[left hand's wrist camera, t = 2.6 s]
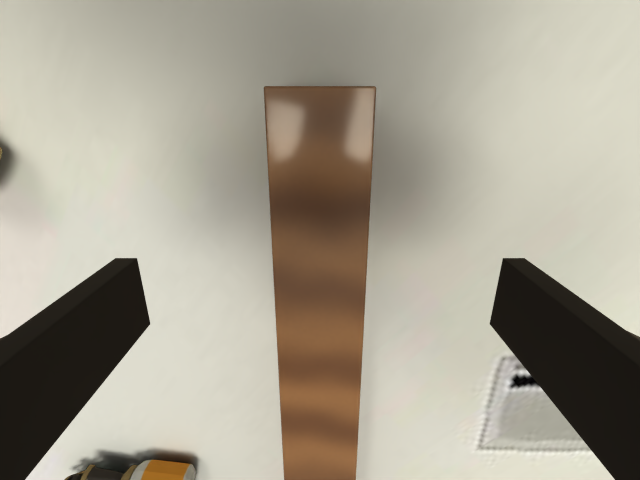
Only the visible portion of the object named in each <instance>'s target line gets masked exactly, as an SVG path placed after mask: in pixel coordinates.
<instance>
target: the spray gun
mask: <svg viewBox="0 0 640 480" xmlns="http://www.w3.org/2000/svg"><path fill="white" fill-rule="evenodd" d="M81 476H82V477H81ZM195 476H196V471H195V469H194V467H193V465H192V464H187V463H179V462H170V461H162V460H147V461H144V462H142V463H141V464H140V465H139V466H138V465H132V466H131V467H130V468H129V469H128V470H127V472H125V473H124V474H123V473H121V472H117V471H112V470H107V469H102V468H97V467H96V466H95V465H89V466H88V467H87V469H86V470H85V471H82V472H79V473H76V474H73V475H71V476H69V477H67V478H66V479H65V480H195Z"/></svg>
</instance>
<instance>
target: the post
mask: <svg viewBox="0 0 640 480" xmlns="http://www.w3.org/2000/svg"><path fill="white" fill-rule="evenodd" d="M375 100H376V87H375V86H265V87H264V101H265V120H266V139H267V158H268V177H269V197H270V216H271V235H272V254H273V273H274V292H275V311H276V330H277V350H278V369H279V388H280V407H281V426H282V445H283V464H284V480H356V464H357V445H358V426H359V407H360V388H361V368H362V349H363V330H364V311H365V292H366V273H367V253H368V234H369V215H370V196H371V177H372V158H373V139H374V119H375Z"/></svg>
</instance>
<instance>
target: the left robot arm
mask: <svg viewBox="0 0 640 480" xmlns="http://www.w3.org/2000/svg"><path fill="white" fill-rule="evenodd" d="M149 325H150V320H149V315H148V310H147V305H146V300H145V296H144V291H143V286H142V281H141V276H140V271H139V266H138V261H137V258H115V259H114V260H113V261H111V262H110V263H108V264H107V265H106V266H104V267H103V268H101V269H100V270H98V271H97V272H96V273H94V274H93V275H91V276H90V277H89V278H87V279H86V280H84V281H83V282H82V283H80V284H79V285H77V286H76V287H75V288H73V289H72V290H70V291H69V292H68V293H66V294H65V295H63V296H62V297H61V298H59V299H58V300H56V301H55V302H54V303H52V304H51V305H49V306H48V307H47V308H45V309H44V310H42V311H41V312H39V313H38V314H37V315H35V316H34V317H32V318H31V319H30V320H28V321H27V322H25V323H24V324H23V325H21V326H20V327H18V328H17V329H16V330H14V331H13V332H11V333H10V334H9V335H7V336H5V337H3V338H0V480H25V479H26V478H27V476H28V475H29V474H30V473H31V471H32V470H33V469H34V468H35V466H36V465H37V464H38V463H39V461H40V460H41V459H42V458H43V457H44V455H45V454H46V453H47V452H48V450H49V449H50V448H51V447H52V445H53V444H54V443H55V442H56V440H57V439H58V438H59V437H60V435H61V434H62V433H63V432H64V430H65V429H66V428H67V427H68V425H69V424H70V423H71V422H72V420H73V419H74V418H75V417H76V415H77V414H78V413H79V412H80V411H81V409H82V408H83V407H84V406H85V404H86V403H87V402H88V401H89V399H90V398H91V397H92V396H93V394H94V393H95V392H96V391H97V389H98V388H99V387H100V386H101V384H102V383H103V382H104V381H105V379H106V378H107V377H108V376H109V374H110V373H111V372H112V371H113V370H114V368H115V367H116V366H117V365H118V363H119V362H120V361H121V360H122V358H123V357H124V356H125V355H126V353H127V352H128V351H129V350H130V348H131V347H132V346H133V345H134V343H135V342H136V341H137V340H138V338H139V337H140V336H141V335H142V333H143V332H144V331H145V330H146V328H147V327H148V326H149ZM490 325H491V326H492V327H493V328H494V330H495V331H496V332H497V333H498V335H499V336H500V337H501V338H502V340H503V341H504V342H505V343H506V345H507V346H508V347H509V348H510V350H511V351H512V352H513V353H514V355H515V356H516V357H517V358H518V360H519V361H520V362H521V363H522V365H523V366H524V367H525V368H526V370H527V371H528V372H529V373H530V374H531V376H532V377H533V378H534V379H535V381H536V382H537V383H538V384H539V386H540V387H541V388H542V389H543V391H544V392H545V393H546V394H547V396H548V397H549V398H550V399H551V401H552V402H553V403H554V404H555V406H556V407H557V408H558V409H559V411H560V412H561V413H562V414H563V416H564V417H565V418H566V419H567V420H568V422H569V423H570V424H571V425H572V427H573V428H574V429H575V430H576V432H577V433H578V434H579V435H580V437H581V438H582V439H583V440H584V442H585V443H586V444H587V445H588V447H589V448H590V449H591V450H592V452H593V453H594V454H595V455H596V457H597V458H598V459H599V460H600V461H601V463H602V464H603V465H604V466H605V468H606V469H607V470H608V471H609V473H610V474H611V475H612V476H613V478H614V479H615V480H640V337H639V336H636V335H634V334H632V333H630V332H628V331H626V330H624V329H623V328H622V327H620V326H619V325H617V324H616V323H615V322H613V321H612V320H610V319H609V318H608V317H606V316H605V315H603V314H602V313H601V312H599V311H598V310H596V309H595V308H593V307H592V306H591V305H589V304H588V303H586V302H585V301H584V300H582V299H581V298H579V297H578V296H577V295H575V294H574V293H572V292H571V291H570V290H568V289H567V288H565V287H564V286H563V285H561V284H560V283H558V282H557V281H556V280H554V279H553V278H551V277H550V276H549V275H547V274H546V273H544V272H543V271H542V270H540V269H539V268H537V267H536V266H534V265H533V264H532V263H530V262H529V261H527V260H526V259H525V258H503V261H502V266H501V271H500V276H499V281H498V286H497V291H496V296H495V300H494V305H493V310H492V315H491V320H490Z"/></svg>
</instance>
